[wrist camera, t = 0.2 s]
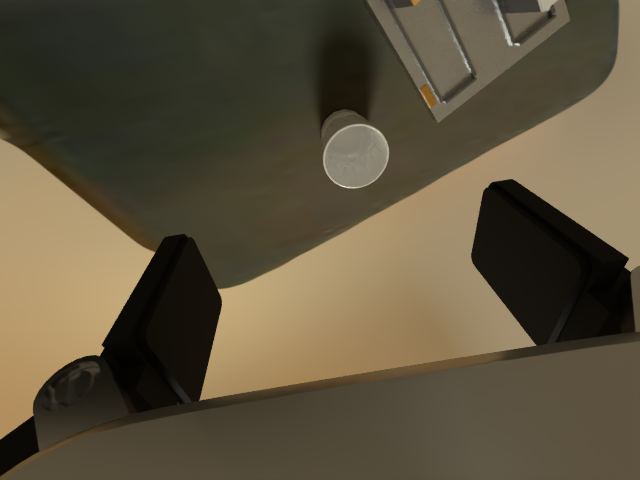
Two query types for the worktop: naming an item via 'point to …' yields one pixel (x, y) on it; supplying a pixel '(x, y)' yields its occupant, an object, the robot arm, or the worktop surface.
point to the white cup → (352, 149)
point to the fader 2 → (528, 5)
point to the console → (460, 44)
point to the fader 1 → (405, 3)
